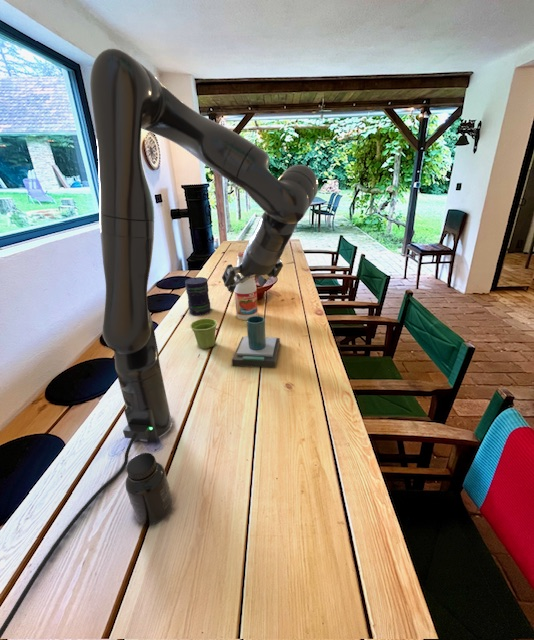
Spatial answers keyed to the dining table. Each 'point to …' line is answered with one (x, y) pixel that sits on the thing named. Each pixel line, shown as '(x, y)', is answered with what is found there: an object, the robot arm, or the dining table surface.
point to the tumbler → (256, 332)
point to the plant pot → (204, 332)
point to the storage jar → (198, 296)
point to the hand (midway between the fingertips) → (245, 286)
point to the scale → (256, 354)
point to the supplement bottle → (148, 489)
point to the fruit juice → (245, 295)
